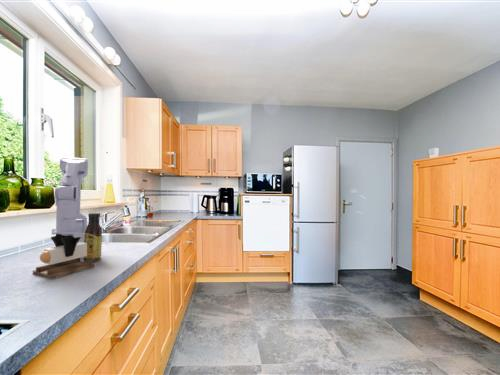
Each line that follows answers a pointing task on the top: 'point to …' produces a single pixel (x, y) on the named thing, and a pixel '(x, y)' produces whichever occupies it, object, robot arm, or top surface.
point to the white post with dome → (62, 254)
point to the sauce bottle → (93, 238)
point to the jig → (63, 268)
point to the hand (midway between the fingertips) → (65, 255)
